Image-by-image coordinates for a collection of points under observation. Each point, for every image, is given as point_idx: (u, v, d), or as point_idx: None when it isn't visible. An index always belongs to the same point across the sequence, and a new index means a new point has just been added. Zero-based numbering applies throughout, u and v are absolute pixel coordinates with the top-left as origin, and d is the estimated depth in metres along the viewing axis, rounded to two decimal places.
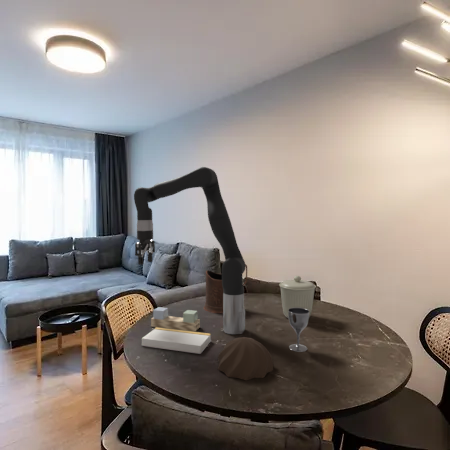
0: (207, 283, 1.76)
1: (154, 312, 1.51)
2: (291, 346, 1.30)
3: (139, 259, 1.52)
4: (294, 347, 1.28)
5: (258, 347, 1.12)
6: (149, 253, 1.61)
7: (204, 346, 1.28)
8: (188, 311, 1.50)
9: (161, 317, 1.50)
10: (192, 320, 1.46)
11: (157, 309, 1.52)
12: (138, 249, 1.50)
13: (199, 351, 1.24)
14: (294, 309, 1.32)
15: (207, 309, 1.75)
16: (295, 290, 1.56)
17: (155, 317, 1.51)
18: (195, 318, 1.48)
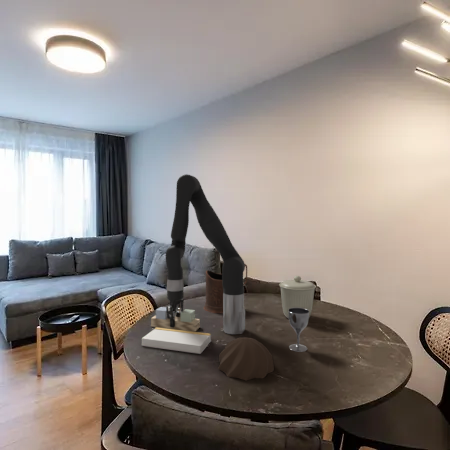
0: (207, 283, 1.76)
1: (156, 312, 1.51)
2: (291, 346, 1.30)
3: (171, 322, 1.47)
4: (294, 347, 1.28)
5: (259, 347, 1.11)
6: (177, 313, 1.54)
7: (204, 346, 1.28)
8: (186, 310, 1.50)
9: (163, 317, 1.50)
10: (189, 319, 1.46)
11: (159, 309, 1.52)
12: (170, 313, 1.45)
13: (199, 351, 1.24)
14: (294, 309, 1.32)
15: (207, 309, 1.75)
16: (295, 290, 1.56)
17: (157, 317, 1.51)
18: (193, 317, 1.49)
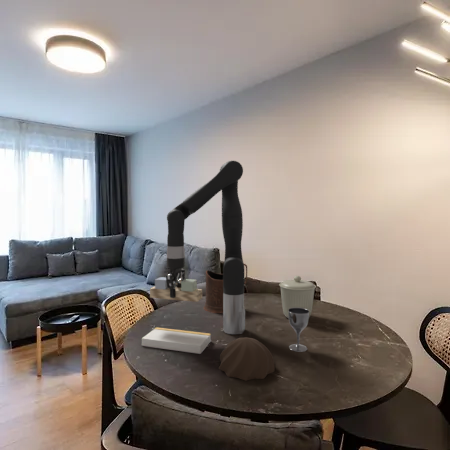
0: (207, 283, 1.76)
1: (156, 281, 1.40)
2: (291, 346, 1.30)
3: (171, 291, 1.36)
4: (294, 347, 1.28)
5: (259, 348, 1.11)
6: (178, 284, 1.43)
7: (204, 346, 1.28)
8: (187, 280, 1.39)
9: (163, 287, 1.39)
10: (191, 289, 1.35)
11: (159, 279, 1.41)
12: (170, 282, 1.34)
13: (199, 351, 1.24)
14: (294, 309, 1.32)
15: (207, 309, 1.75)
16: (295, 290, 1.56)
17: (157, 287, 1.40)
18: (194, 287, 1.38)
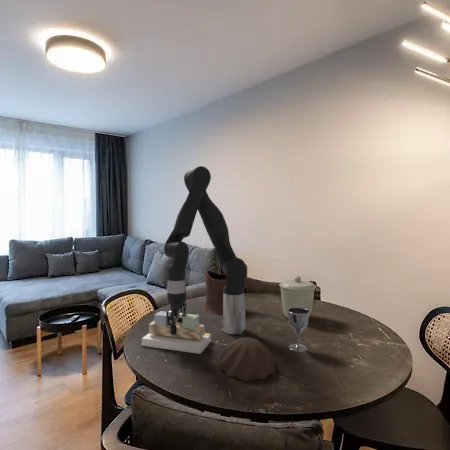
0: (207, 283, 1.76)
1: (155, 317, 1.32)
2: (291, 346, 1.30)
3: (172, 328, 1.29)
4: (294, 347, 1.28)
5: (260, 348, 1.11)
6: (179, 319, 1.35)
7: (204, 346, 1.28)
8: (188, 315, 1.31)
9: (163, 323, 1.31)
10: (193, 326, 1.28)
11: (159, 313, 1.33)
12: (171, 319, 1.26)
13: (199, 351, 1.24)
14: (294, 309, 1.32)
15: (207, 309, 1.75)
16: (295, 290, 1.56)
17: (156, 323, 1.32)
18: (196, 323, 1.30)
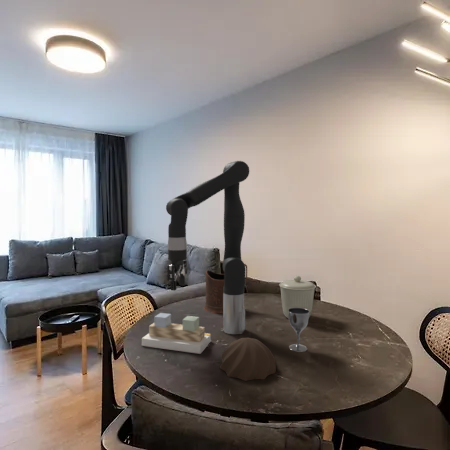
0: (207, 283, 1.76)
1: (155, 319, 1.32)
2: (291, 346, 1.30)
3: (172, 284, 1.28)
4: (294, 347, 1.28)
5: (260, 348, 1.11)
6: (181, 275, 1.37)
7: (204, 346, 1.28)
8: (188, 317, 1.31)
9: (163, 325, 1.31)
10: (193, 328, 1.28)
11: (159, 315, 1.33)
12: (171, 272, 1.26)
13: (199, 351, 1.24)
14: (294, 309, 1.32)
15: (207, 309, 1.75)
16: (295, 290, 1.56)
17: (156, 325, 1.32)
18: (196, 325, 1.30)
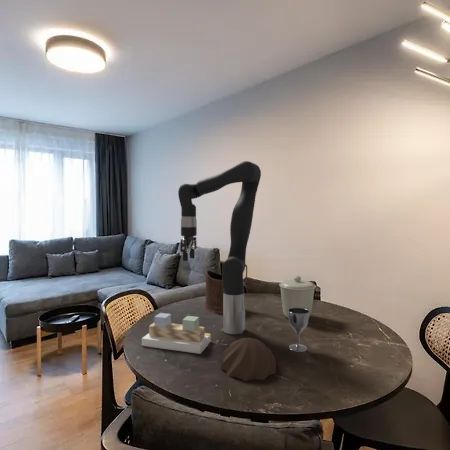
0: (207, 283, 1.76)
1: (155, 319, 1.32)
2: (291, 346, 1.30)
3: (184, 255, 1.52)
4: (294, 347, 1.28)
5: (261, 349, 1.10)
6: (191, 249, 1.61)
7: (204, 346, 1.28)
8: (188, 317, 1.31)
9: (163, 325, 1.31)
10: (193, 328, 1.28)
11: (159, 315, 1.33)
12: (183, 245, 1.50)
13: (199, 351, 1.24)
14: (294, 309, 1.32)
15: (207, 309, 1.75)
16: (295, 290, 1.56)
17: (156, 325, 1.32)
18: (196, 325, 1.30)
